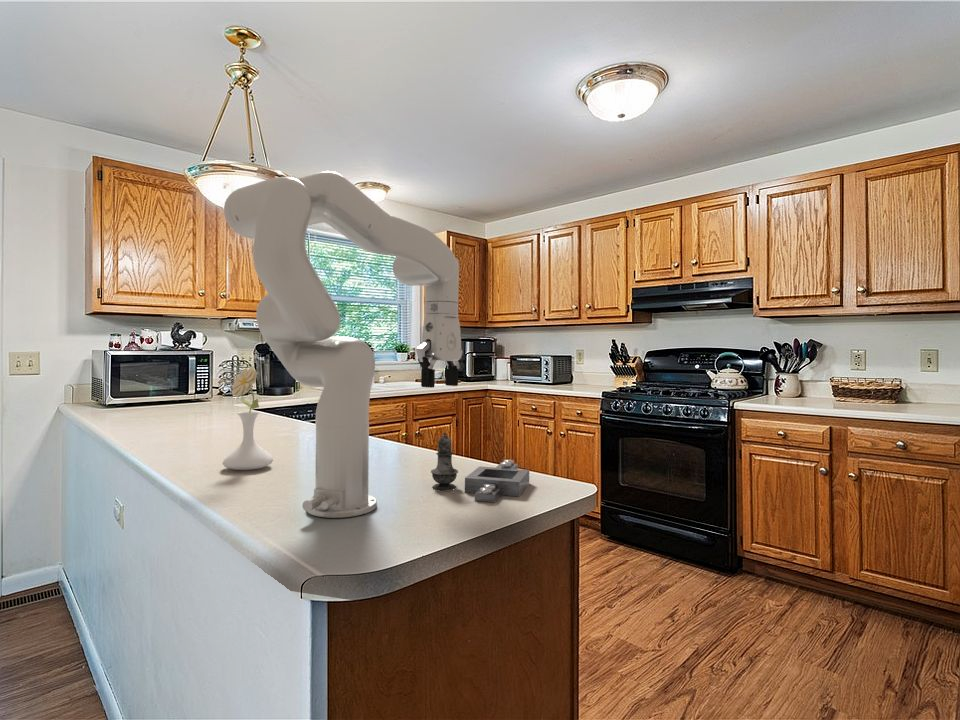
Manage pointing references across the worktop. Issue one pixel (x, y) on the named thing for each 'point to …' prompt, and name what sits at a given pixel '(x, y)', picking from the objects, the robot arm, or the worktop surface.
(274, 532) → the worktop surface
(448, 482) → the salt shaker
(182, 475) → the worktop surface
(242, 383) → the flower in vase
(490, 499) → the chain end near
